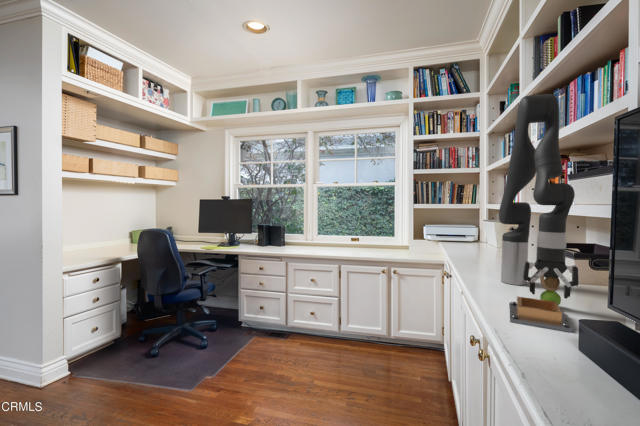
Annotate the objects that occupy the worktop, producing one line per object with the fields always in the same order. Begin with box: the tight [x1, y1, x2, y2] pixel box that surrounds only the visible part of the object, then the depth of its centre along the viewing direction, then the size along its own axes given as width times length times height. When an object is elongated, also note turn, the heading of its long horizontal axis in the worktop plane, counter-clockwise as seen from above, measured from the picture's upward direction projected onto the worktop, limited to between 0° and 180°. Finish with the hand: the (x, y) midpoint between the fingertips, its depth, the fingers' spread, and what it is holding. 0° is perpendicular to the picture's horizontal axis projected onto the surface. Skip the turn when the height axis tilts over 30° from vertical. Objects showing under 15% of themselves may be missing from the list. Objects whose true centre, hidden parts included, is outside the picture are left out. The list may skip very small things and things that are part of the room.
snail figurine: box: [539, 270, 562, 306], centre depth 103 cm, size 5×6×12 cm
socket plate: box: [508, 296, 573, 333], centre depth 94 cm, size 16×14×4 cm
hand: (548, 295), depth 103 cm, fingers open, 8 cm apart
